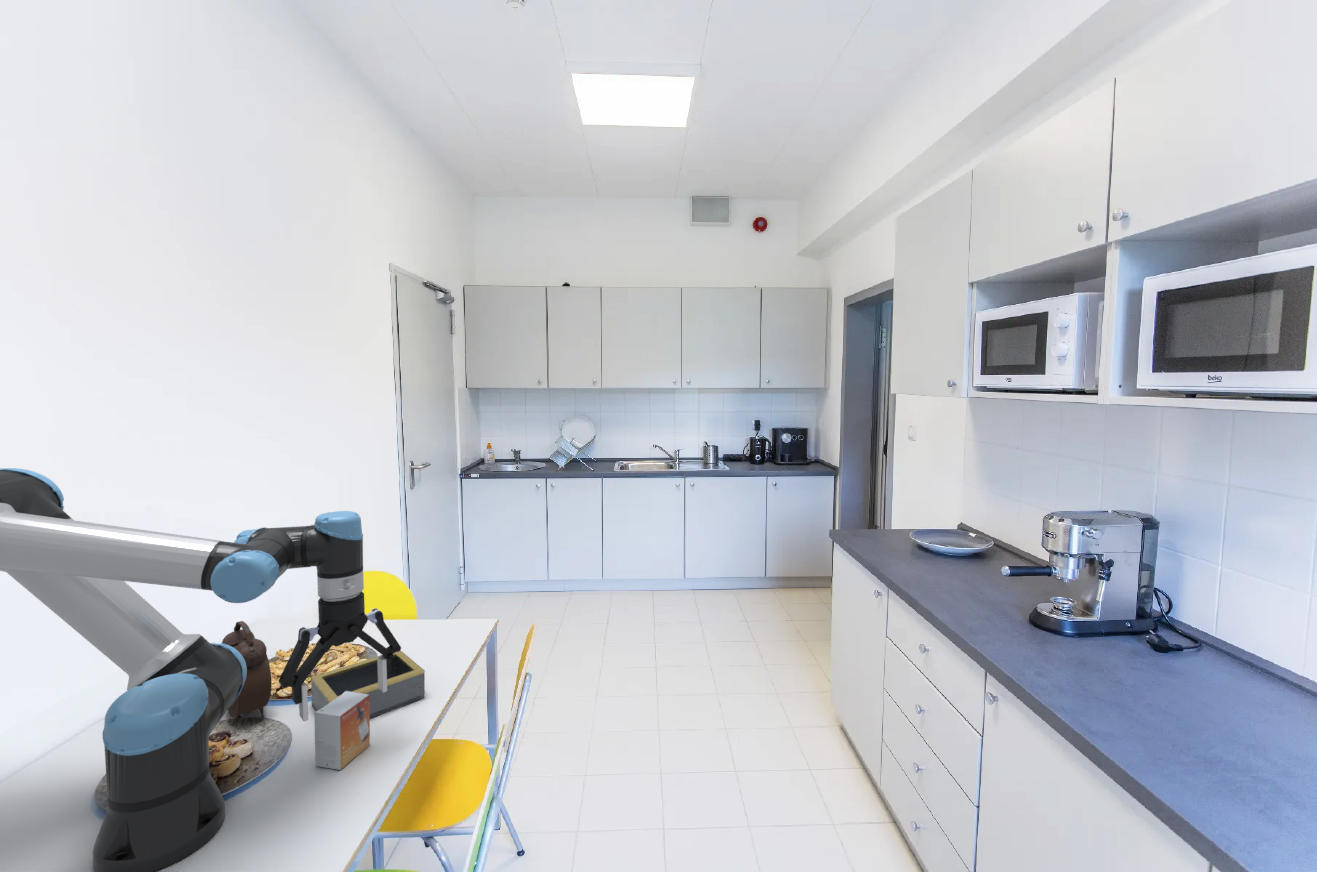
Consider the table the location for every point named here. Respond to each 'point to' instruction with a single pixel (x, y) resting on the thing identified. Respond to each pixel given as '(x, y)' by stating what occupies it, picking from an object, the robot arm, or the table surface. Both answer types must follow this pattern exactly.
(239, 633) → the alarm clock
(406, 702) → the box
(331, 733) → the small box
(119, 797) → the robot arm
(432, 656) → the table surface
